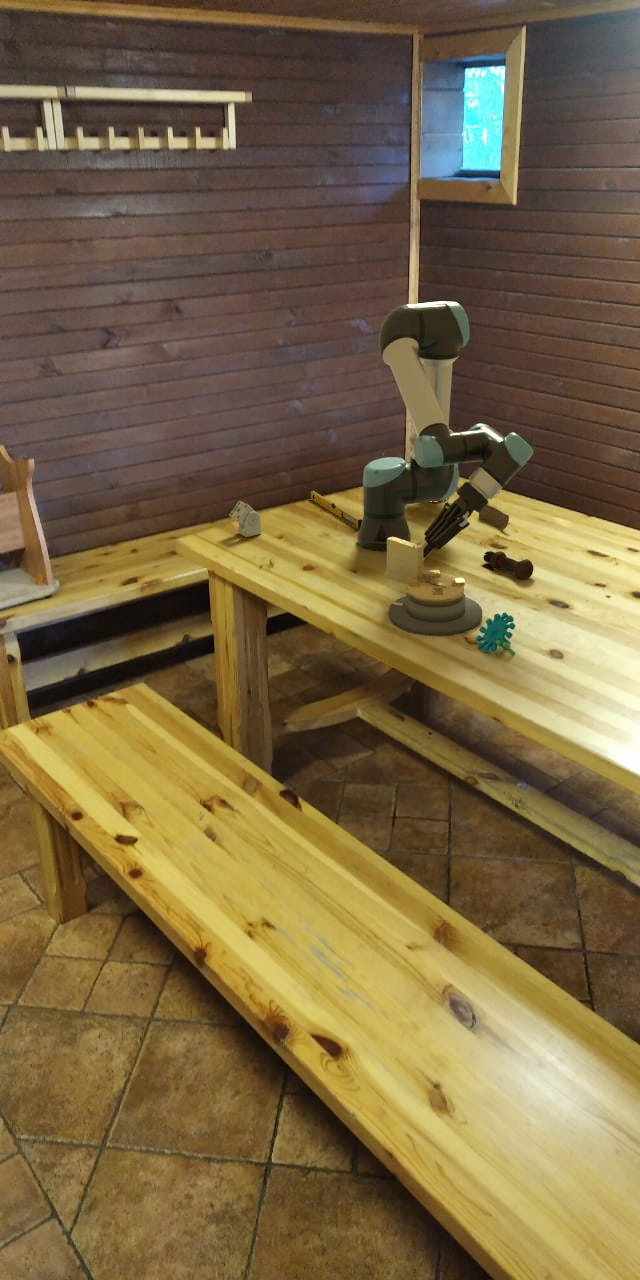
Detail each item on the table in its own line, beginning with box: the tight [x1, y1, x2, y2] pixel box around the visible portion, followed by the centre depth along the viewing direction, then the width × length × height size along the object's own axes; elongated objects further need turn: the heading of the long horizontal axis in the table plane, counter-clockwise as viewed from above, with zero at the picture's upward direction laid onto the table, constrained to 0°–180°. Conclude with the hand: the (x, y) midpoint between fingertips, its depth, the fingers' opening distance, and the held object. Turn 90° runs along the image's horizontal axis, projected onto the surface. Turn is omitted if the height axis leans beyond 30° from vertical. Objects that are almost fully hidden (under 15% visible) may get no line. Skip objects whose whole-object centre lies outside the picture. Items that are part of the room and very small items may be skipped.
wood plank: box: [478, 504, 510, 533], centre depth 289 cm, size 15×2×5 cm, turn 24°
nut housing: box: [388, 592, 483, 637], centre depth 232 cm, size 22×22×5 cm
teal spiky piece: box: [475, 611, 516, 656], centre depth 216 cm, size 11×6×10 cm
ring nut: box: [386, 537, 466, 607], centre depth 231 cm, size 22×13×11 cm, turn 43°
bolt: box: [483, 550, 535, 582], centre depth 256 cm, size 6×5×15 cm
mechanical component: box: [228, 500, 262, 538], centre depth 286 cm, size 5×8×10 cm
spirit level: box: [309, 490, 363, 529], centre depth 303 cm, size 33×1×3 cm, turn 26°
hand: (410, 564), depth 237 cm, fingers closed
